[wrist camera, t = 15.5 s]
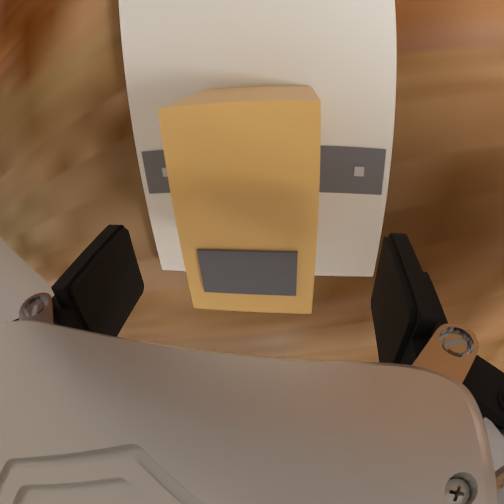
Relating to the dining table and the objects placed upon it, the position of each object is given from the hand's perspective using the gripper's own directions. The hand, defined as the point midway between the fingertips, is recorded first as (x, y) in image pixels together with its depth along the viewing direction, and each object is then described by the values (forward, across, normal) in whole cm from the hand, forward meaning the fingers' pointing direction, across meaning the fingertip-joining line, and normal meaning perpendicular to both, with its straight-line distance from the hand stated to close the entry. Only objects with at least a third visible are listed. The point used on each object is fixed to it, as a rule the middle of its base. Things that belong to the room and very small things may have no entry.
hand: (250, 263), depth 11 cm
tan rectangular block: (+10, +1, 0) cm, 10 cm away
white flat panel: (+11, +1, -6) cm, 12 cm away
